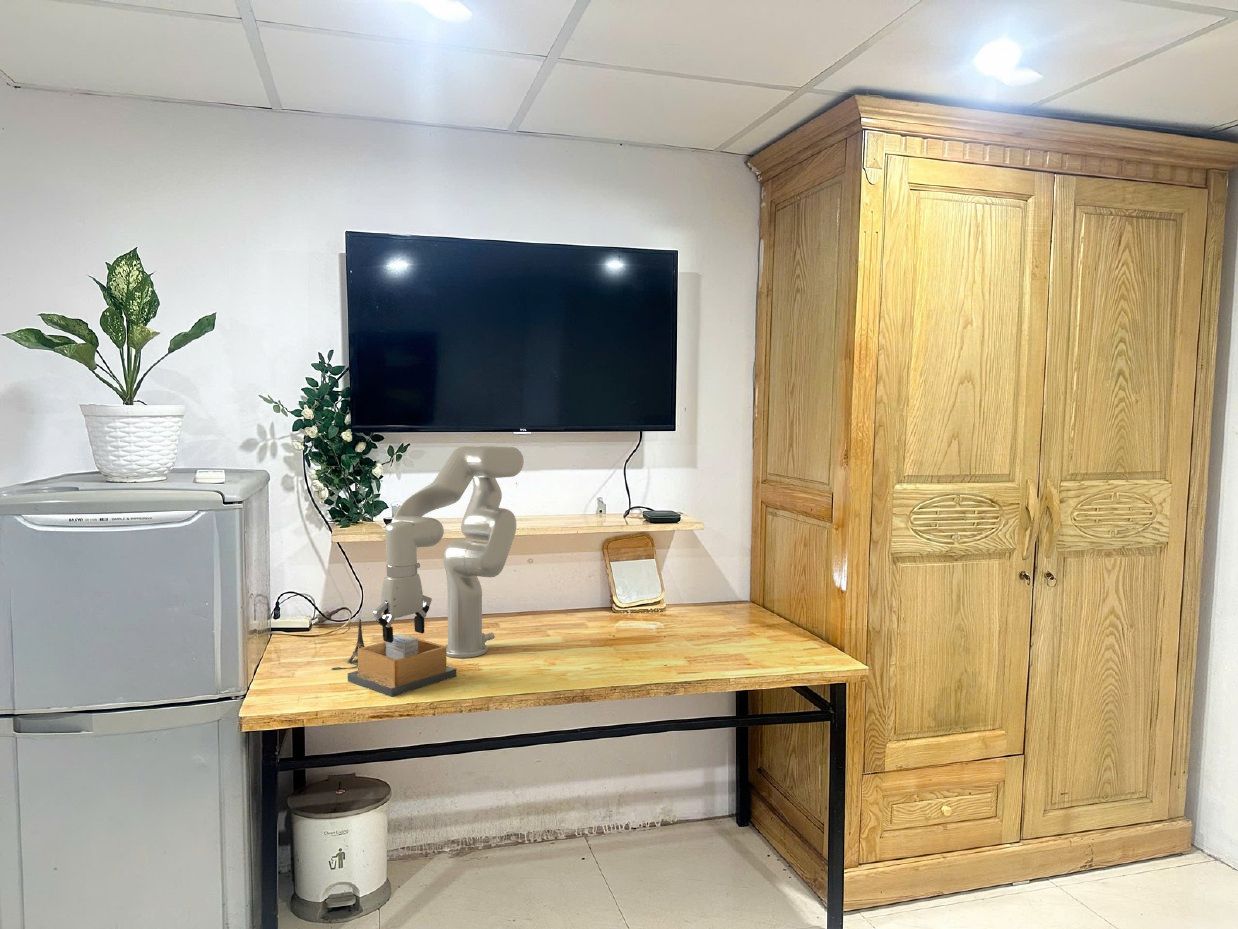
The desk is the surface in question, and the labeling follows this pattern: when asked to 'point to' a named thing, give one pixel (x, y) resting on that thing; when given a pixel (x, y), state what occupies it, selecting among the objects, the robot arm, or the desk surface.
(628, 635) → the desk surface
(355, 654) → the eiffel tower figurine
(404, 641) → the medicine box
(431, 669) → the brown open box
